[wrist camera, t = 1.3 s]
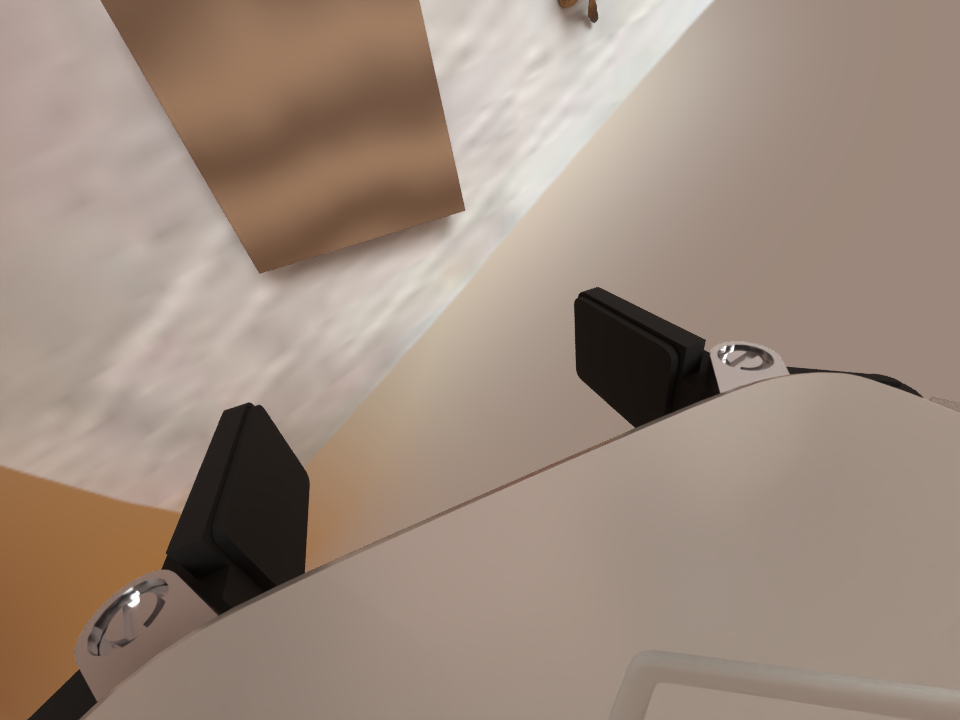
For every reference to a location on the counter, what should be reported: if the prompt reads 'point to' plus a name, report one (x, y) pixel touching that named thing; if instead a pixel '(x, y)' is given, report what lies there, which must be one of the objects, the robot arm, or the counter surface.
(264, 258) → the walnut block
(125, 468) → the counter surface
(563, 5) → the lion figurine
